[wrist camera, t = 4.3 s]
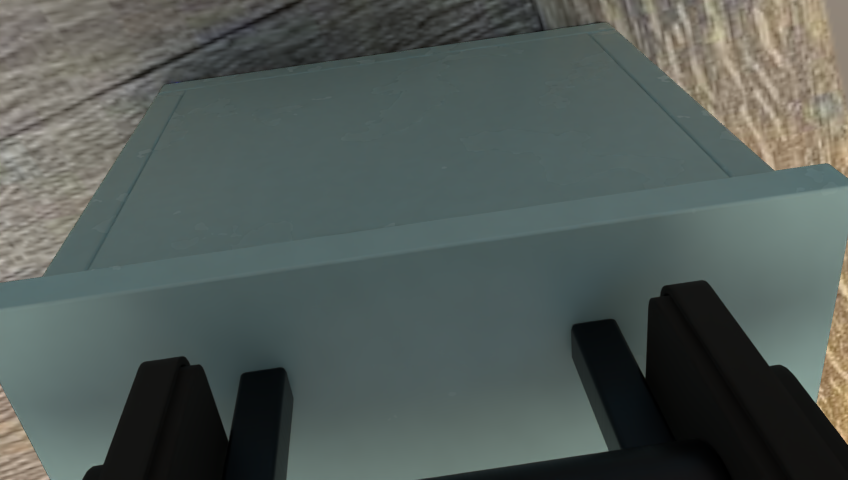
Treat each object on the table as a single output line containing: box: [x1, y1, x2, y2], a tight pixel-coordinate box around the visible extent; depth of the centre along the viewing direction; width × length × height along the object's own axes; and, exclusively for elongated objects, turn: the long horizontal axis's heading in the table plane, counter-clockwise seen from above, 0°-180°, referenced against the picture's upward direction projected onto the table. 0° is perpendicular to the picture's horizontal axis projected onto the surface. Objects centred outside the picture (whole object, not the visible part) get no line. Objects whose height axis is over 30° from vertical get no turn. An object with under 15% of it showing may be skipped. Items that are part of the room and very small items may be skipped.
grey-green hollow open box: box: [42, 22, 774, 277], centre depth 20 cm, size 14×13×11 cm
